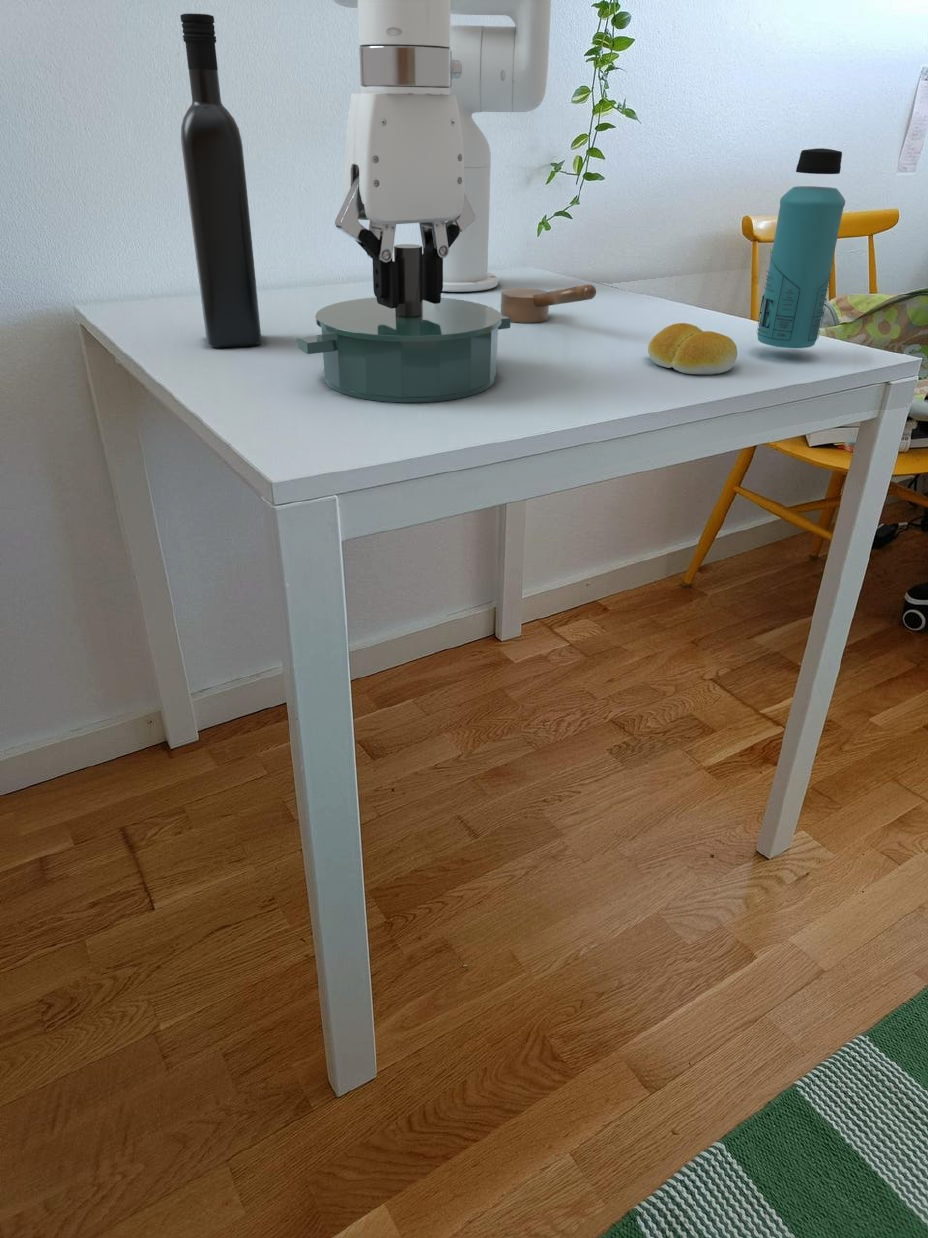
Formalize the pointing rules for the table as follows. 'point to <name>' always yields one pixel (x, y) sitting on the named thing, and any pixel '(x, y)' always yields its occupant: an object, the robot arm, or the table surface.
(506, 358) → the table surface
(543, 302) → the brown handled cylinder
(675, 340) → the bread roll
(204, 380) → the table surface
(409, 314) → the pot lid
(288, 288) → the table surface
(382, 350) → the pot
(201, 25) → the wine bottle
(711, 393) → the table surface
